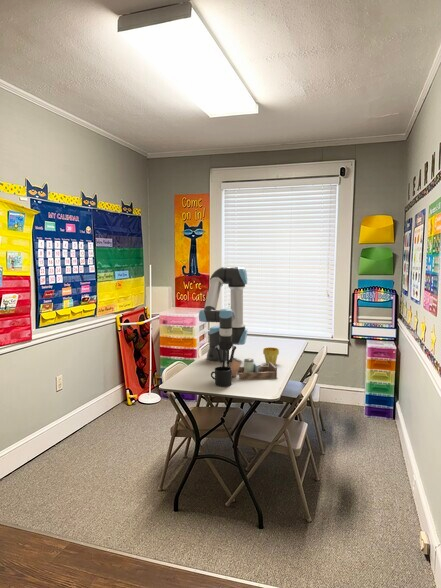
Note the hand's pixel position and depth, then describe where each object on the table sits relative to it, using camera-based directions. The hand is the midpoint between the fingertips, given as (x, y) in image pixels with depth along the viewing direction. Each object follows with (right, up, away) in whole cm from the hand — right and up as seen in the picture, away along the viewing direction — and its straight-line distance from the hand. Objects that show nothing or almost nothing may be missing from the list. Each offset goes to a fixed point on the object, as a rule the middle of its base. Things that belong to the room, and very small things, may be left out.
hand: (225, 373), depth 243 cm
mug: (-3, -3, -14) cm, 15 cm away
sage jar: (+14, -2, +2) cm, 15 cm away
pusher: (+19, -1, +3) cm, 20 cm away
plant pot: (+31, +1, +31) cm, 44 cm away
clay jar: (+3, -1, +1) cm, 4 cm away
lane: (+18, -1, +3) cm, 18 cm away
